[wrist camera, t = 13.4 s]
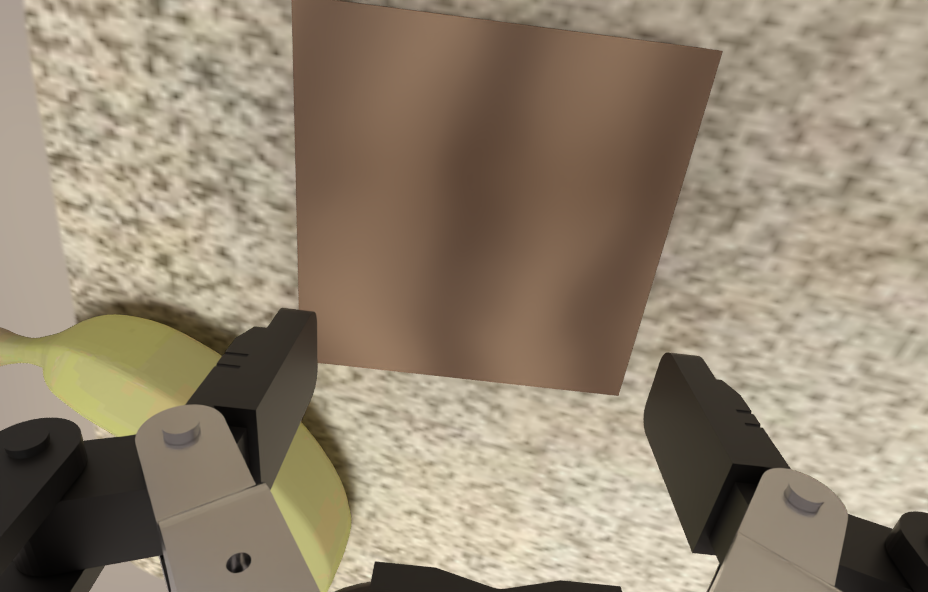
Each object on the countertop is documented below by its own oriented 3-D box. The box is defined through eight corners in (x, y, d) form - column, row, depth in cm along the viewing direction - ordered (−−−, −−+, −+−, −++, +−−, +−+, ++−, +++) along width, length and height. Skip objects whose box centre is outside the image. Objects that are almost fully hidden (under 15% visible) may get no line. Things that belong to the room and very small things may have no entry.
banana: (433, 453, 27) (45, 221, 24) (397, 560, 22) (-86, 291, 19) (327, 556, 34) (25, 391, 32) (285, 650, 30) (-71, 468, 27)
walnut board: (700, 47, 20) (722, 51, 18) (608, 369, 26) (618, 395, 24) (308, -4, 19) (291, -6, 17) (312, 336, 26) (300, 360, 24)
